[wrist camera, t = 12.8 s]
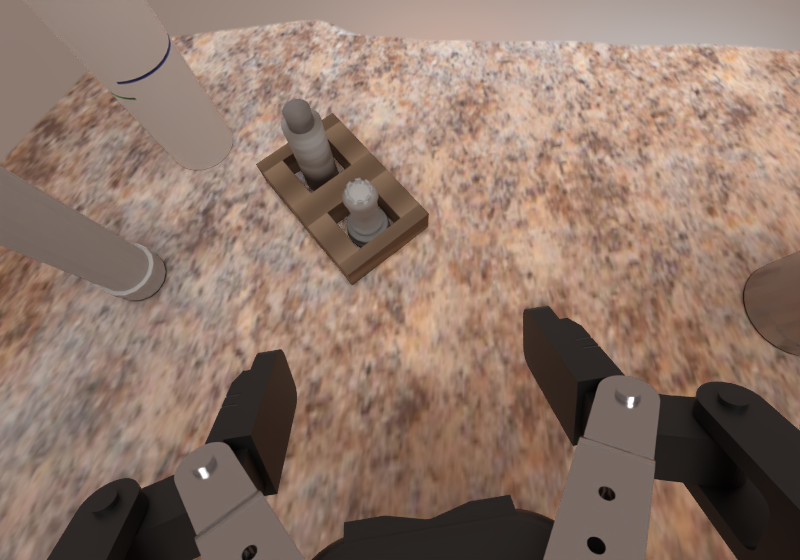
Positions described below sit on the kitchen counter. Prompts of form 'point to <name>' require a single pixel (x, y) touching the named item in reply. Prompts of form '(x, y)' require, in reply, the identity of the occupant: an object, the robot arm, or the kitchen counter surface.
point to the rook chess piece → (363, 212)
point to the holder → (337, 188)
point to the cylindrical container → (142, 74)
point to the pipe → (74, 241)
